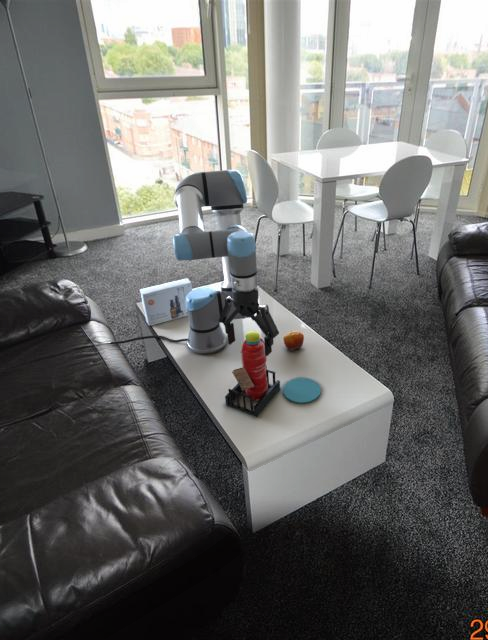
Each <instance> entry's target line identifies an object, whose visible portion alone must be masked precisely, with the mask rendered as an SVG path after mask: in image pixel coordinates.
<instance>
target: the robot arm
mask: <svg viewBox="0 0 488 640" xmlns="http://www.w3.org/2000/svg"><path fill="white" fill-rule="evenodd" d="M173 197H174V204H175V206H176V207H177V210H178V223H179V233H178V234H174V235H173V237H172V244H173V251H174V256H175V258H176V260H177V261H180V262H182V261H190V262H191V261H196V260H197V261H198V260H205V259H215V258H221V264H222V273H223V283H222V284H221V285H220V290H216V288H215V287H214V286H209V285H204V286H199V287H195V288H194V289H192V291H191V292H189V293H188V294H187V296H186V309H187V312H188V316H187V318H188V324H189V332H188V337H187V338H180V339H173V338H172V339H171V338H169V337H167V336H163V335H146V336H138V337H133V338H130V339H129V338H128V339H125V340H118V341H110V342H111V343H110V344H109V345H119V344H126V343H130V342H135V341H139V340H147V339H163V340H165V341H168V342H171V343H180V342H181V343H182V342H187V347H188V349H189V350H190V351H191V352H193V353H195V354H199V355H210V354H214V353H217V352H219V351H221V350H223V348H225V347H226V345H227V344H228V345H230V346H231V345H232V344H233V343H235V342H236V333H235V325H234V323H233V321H234V320H240V319H242V320H244V319H248V318H251V320H252V321H253V322H255V323H256V325H257V326H258V327H259V328H260V331H262V333H263V334H264V335H265V336H264V337H263V341H264V344H265V356H266V357H269V356H270V354H271V353H272V352H273V351H272V350H273V349H272V347H273V345H274V339H275V338H276V337H277V336H278V335H279V334H280V331H279V330H278V327H277V325H276V323H275V321H274V318H273V317H272V315H271V313H270V309H269V308H270V307H269V304H264V305H260V303H259V296H260V295H259V287H258V286H259V280H258V279H259V277H258V268H257V267H258V266H257V244H256V240H255V239H256V238H255V235H254V234H253V233H252V232H250V231H248V230H246V228H245V227H243V226H242V220H241V213H242V212H243V210H244V209H245V208H244V205H245V204H247V203H248V197H247V191H246V185H245V182H244V179H243V176H242V174H241V172H240V171H239V170H236V169H224V170H223V169H222V170H212V171H210V170H209V171H197V172H193V173H191V174H188V175H187V176H185V177H184V178H183V179H182V180H181V181H180V182H179V183H178V185H177V186H176V188H175V191H174V196H173ZM203 207H210V210H211V213H213V215H215V217H216V223H217V230H211V231H210V230H209V231H206V227H205V220H204V215H203V209H202V208H203ZM221 324H223V326H224V330H223V328H222V326H221ZM224 331H225V332H224Z"/></svg>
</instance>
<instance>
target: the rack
mask: <svg viewBox="0 0 488 640" xmlns="http://www.w3.org/2000/svg"><path fill="white" fill-rule="evenodd" d="M269 373H270V374H271V375H272V384H271V383H270V379H269V377H270V376H269ZM266 376H267V382H268V390H267V392H266V393H265V394H264V396H263V397H262V398H261V399H260V400H257V402H256V403H255V404H254V400H252V399H253V397H251V396H248V395H247V394H245V393H243V392H244V391H242V389H241V387H240V385H239V384H238V383H237V384H236V385H234V386H233V387H232V389H231V388H228V389H227V391H228V392H227V393H226V395H224V398H225V399H224V400H225V406H227V407H229V408H232V409H234V410H237V411H240V412H242V413H245V414H247V415H251V416H252V417H256V418H257V417H258V416H259V415H260V414H261V413H262V412H263V411H264V409H265V408H266V407H267V406H268V404H270V402H271V401H272V400H273V398H274V397H276V395H277V394H278V393H279V392H280V391H281V380H279V379H276V372H275V371H273V370H270V369H268V368H267V369H266ZM240 396H241V398H242V406H241V405H240ZM246 399H249V409H248V408H247V400H246ZM234 401H236V404H235V403H234Z"/></svg>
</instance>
